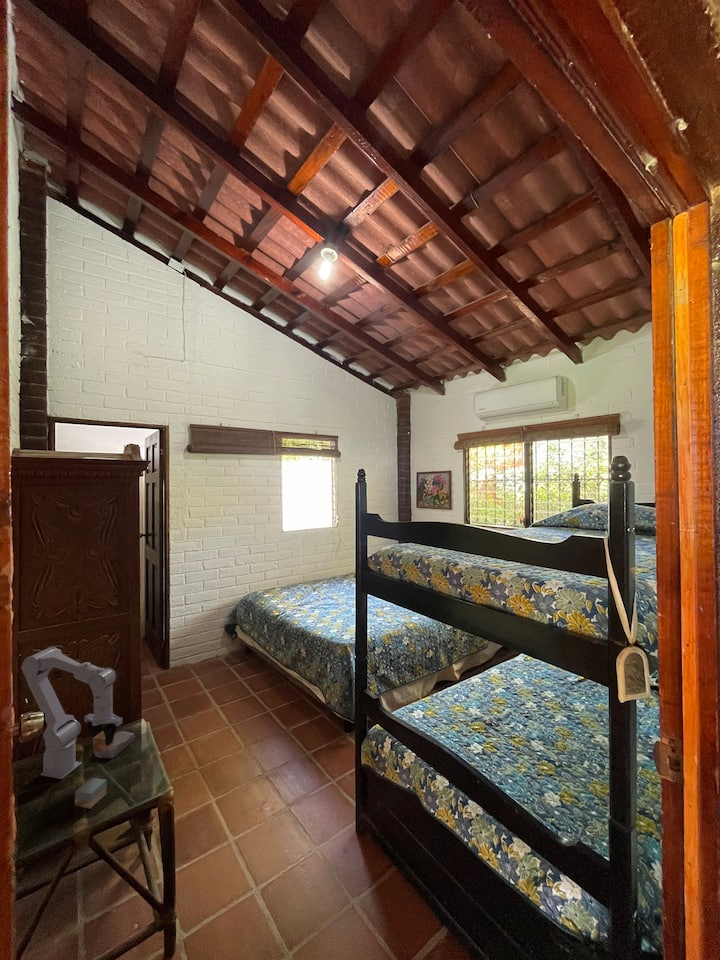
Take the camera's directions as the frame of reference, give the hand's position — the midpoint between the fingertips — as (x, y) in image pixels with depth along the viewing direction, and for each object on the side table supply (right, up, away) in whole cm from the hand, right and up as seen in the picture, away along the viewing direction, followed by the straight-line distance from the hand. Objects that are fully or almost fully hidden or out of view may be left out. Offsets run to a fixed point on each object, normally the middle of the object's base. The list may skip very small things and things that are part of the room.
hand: (103, 742), depth 140 cm
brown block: (+4, -11, -13) cm, 17 cm away
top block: (+4, -8, -12) cm, 15 cm away
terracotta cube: (0, -2, 0) cm, 2 cm away
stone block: (-5, -11, +13) cm, 18 cm away
